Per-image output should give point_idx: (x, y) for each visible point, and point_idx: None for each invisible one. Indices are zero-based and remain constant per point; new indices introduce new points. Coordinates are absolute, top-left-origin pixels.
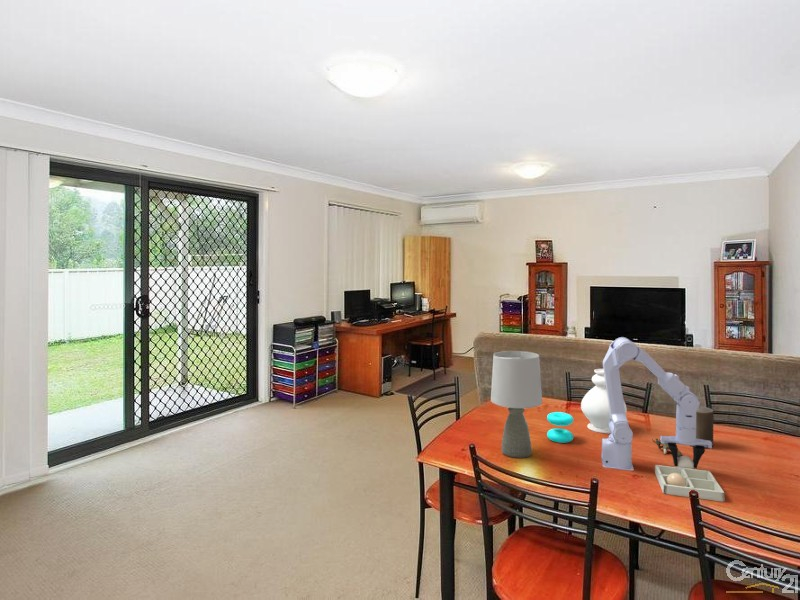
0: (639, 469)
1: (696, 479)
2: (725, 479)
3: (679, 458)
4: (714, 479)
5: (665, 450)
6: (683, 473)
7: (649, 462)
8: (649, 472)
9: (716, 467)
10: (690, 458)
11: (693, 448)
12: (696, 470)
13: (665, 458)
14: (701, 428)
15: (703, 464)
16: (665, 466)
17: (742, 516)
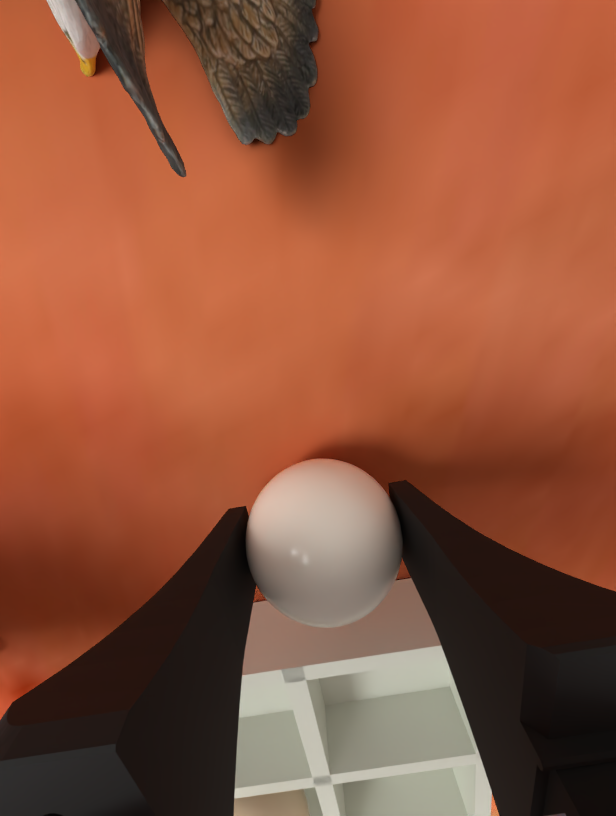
0: (16, 603)
1: (375, 777)
2: (575, 512)
3: (269, 598)
4: None
5: (70, 8)
6: (301, 737)
7: (30, 440)
8: (91, 619)
9: (605, 275)
10: (384, 583)
11: (488, 634)
12: (398, 664)
13: (135, 246)
14: None
15: (502, 245)
16: None
17: (497, 812)
